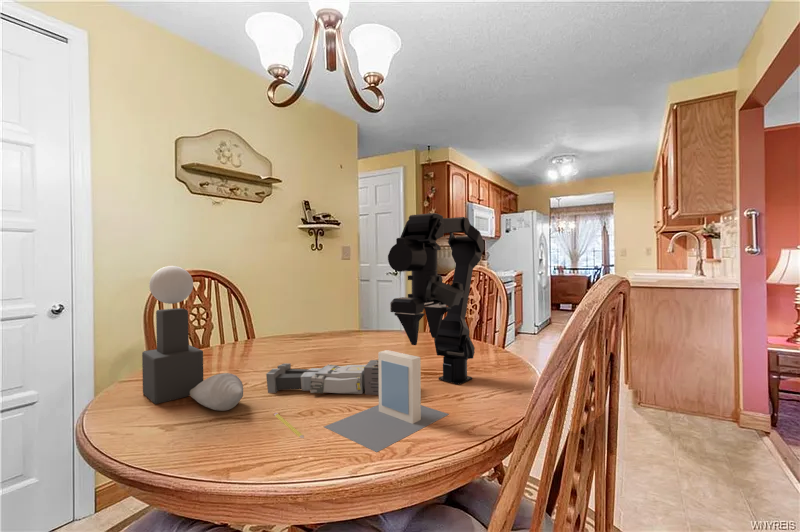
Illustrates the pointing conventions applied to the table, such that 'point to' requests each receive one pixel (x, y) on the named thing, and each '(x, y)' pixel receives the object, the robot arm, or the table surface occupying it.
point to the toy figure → (326, 379)
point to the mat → (381, 427)
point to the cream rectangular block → (400, 385)
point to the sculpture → (171, 341)
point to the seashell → (219, 392)
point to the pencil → (289, 425)
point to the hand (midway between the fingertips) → (424, 341)
